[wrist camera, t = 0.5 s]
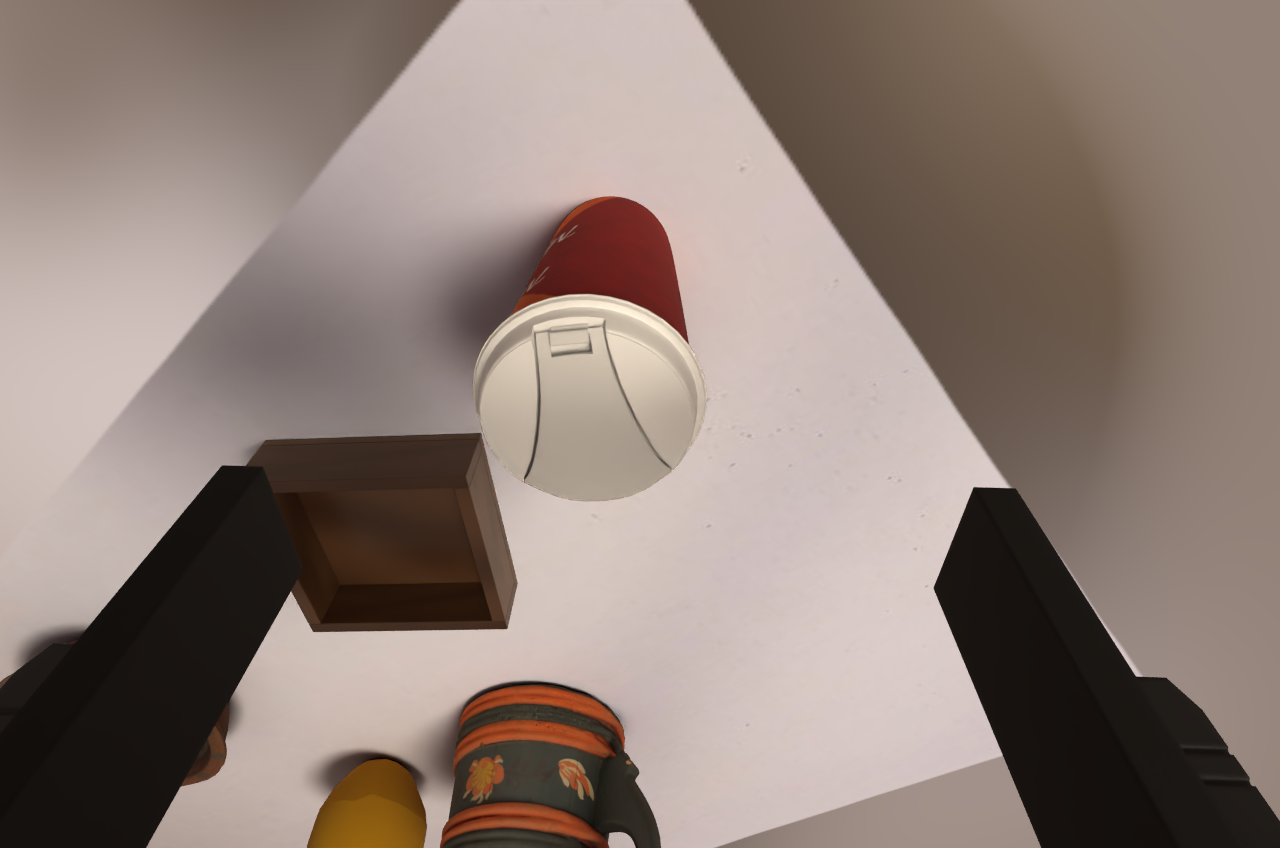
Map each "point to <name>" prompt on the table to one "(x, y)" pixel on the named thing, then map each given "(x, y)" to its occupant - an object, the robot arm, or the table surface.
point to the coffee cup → (594, 362)
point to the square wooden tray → (393, 532)
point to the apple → (372, 810)
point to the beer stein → (544, 774)
